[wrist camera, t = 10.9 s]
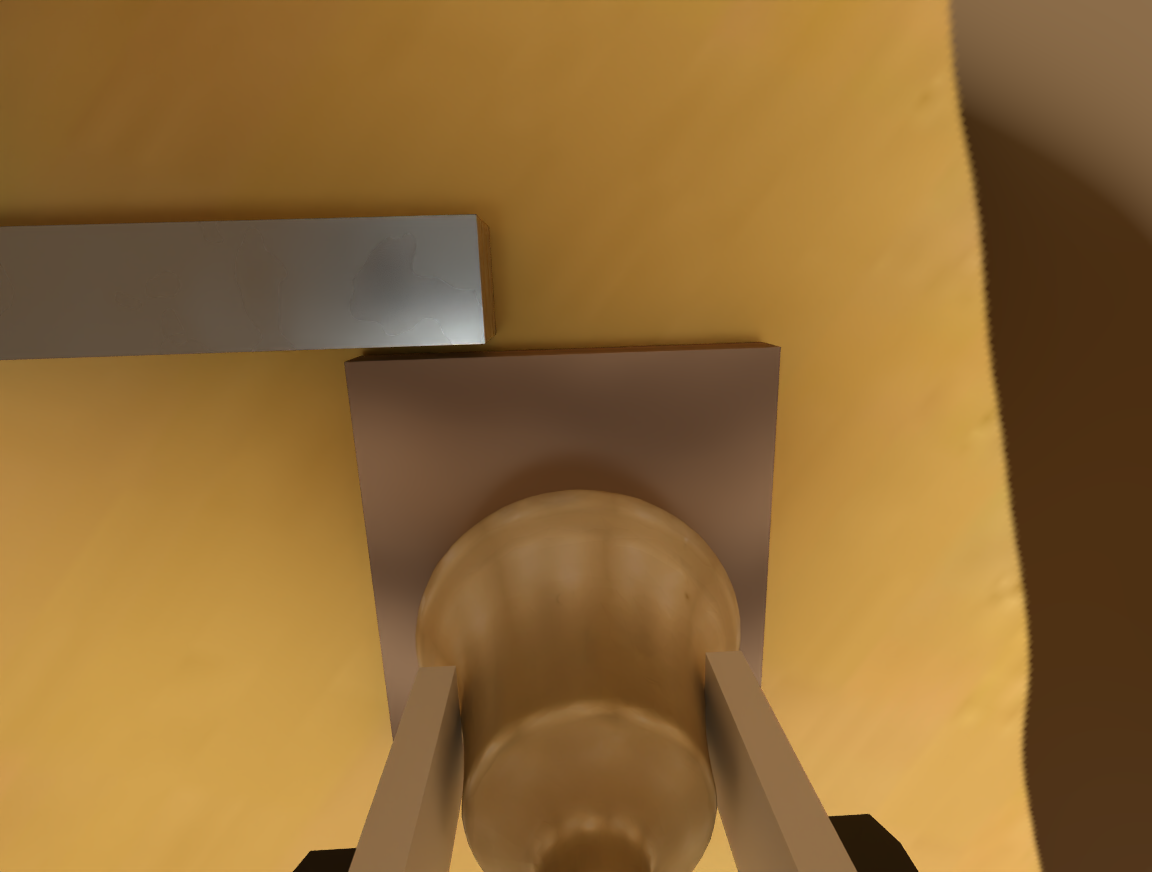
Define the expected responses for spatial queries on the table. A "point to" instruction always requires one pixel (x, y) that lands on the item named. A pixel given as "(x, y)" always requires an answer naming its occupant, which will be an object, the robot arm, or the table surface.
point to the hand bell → (582, 682)
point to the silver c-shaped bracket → (244, 286)
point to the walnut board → (560, 458)
